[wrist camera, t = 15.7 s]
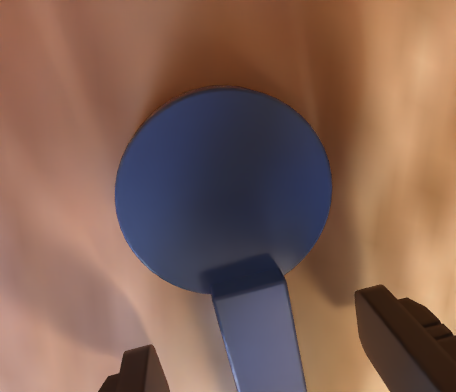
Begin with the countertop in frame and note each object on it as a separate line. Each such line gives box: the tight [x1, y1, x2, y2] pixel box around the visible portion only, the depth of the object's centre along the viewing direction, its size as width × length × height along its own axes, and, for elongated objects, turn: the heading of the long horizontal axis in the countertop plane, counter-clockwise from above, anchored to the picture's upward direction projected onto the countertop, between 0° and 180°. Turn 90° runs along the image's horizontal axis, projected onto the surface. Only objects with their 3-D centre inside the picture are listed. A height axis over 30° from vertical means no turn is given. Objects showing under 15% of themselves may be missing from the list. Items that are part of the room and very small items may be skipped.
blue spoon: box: [115, 85, 332, 392], centre depth 10 cm, size 14×5×2 cm, turn 12°
